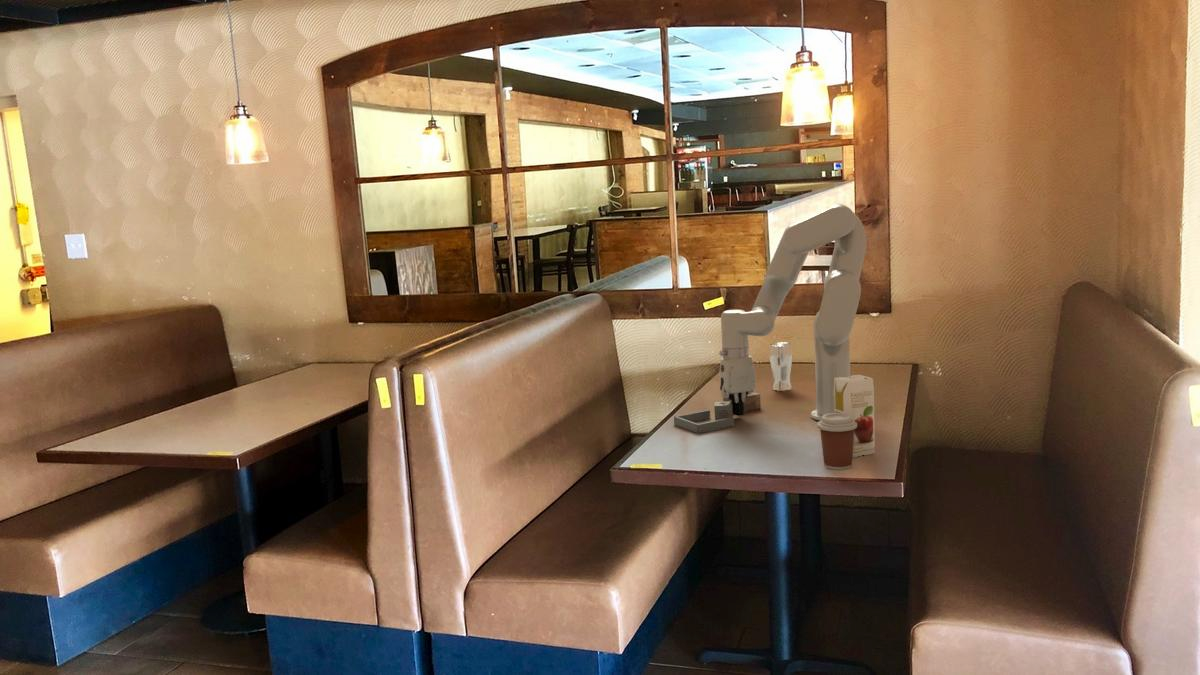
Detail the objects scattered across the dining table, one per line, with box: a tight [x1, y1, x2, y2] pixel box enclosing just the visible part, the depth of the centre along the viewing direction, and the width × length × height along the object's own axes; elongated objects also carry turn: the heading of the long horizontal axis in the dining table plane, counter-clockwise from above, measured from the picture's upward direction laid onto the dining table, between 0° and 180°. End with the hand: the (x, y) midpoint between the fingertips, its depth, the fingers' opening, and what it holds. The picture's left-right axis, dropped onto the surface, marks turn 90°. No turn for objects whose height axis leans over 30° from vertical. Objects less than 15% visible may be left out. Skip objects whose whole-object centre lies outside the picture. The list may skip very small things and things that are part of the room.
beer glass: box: [769, 342, 793, 392], centre depth 298 cm, size 7×7×15 cm
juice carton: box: [834, 374, 876, 459], centre depth 224 cm, size 8×9×19 cm
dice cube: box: [713, 401, 734, 421], centre depth 264 cm, size 5×5×5 cm
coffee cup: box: [816, 413, 857, 471], centre depth 216 cm, size 9×9×12 cm
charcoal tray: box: [673, 409, 735, 434], centre depth 261 cm, size 12×12×2 cm
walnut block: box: [722, 391, 762, 412], centre depth 278 cm, size 8×8×4 cm
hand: (738, 414), depth 266 cm, fingers closed
